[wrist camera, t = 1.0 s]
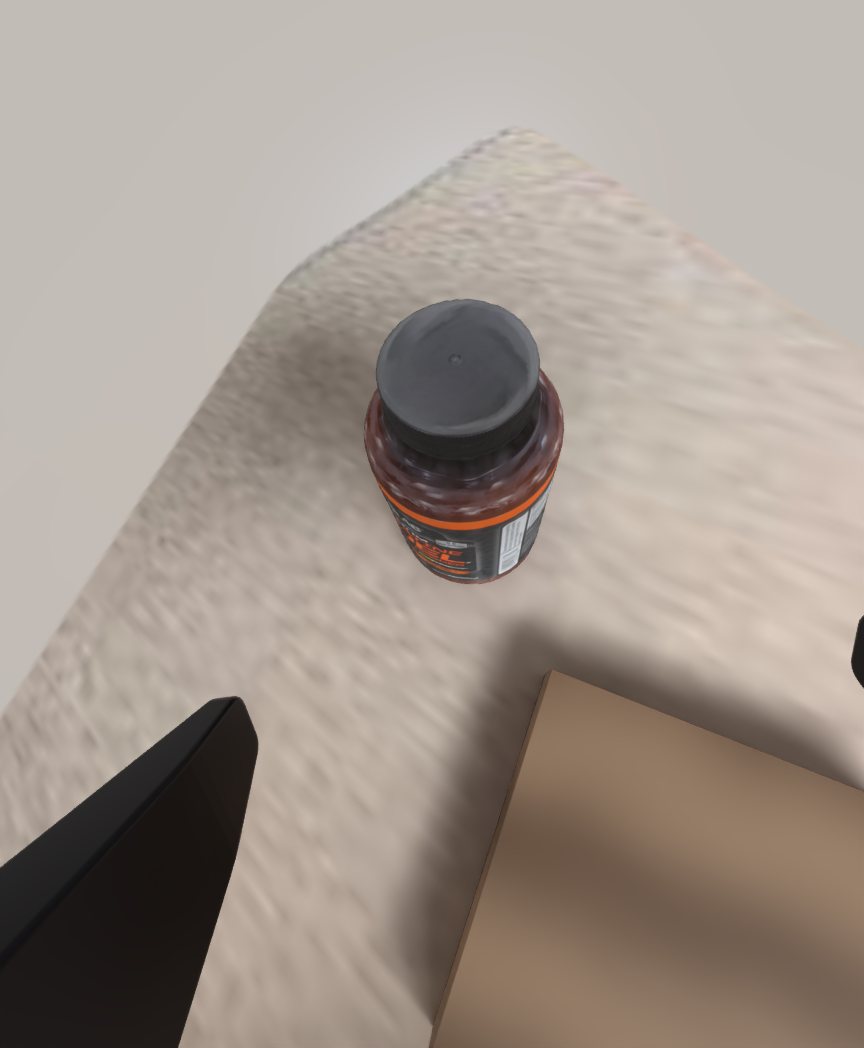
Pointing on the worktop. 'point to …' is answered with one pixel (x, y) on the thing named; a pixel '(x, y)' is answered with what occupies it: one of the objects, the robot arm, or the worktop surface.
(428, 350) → the supplement bottle
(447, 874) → the worktop surface
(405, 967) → the worktop surface
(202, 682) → the worktop surface
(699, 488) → the worktop surface
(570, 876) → the walnut plinth
